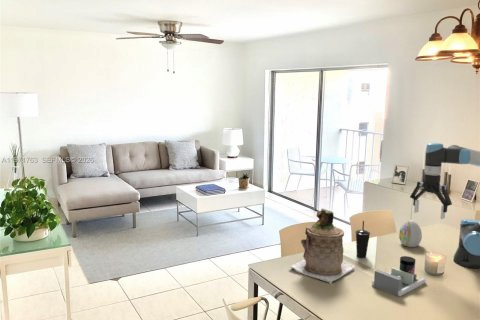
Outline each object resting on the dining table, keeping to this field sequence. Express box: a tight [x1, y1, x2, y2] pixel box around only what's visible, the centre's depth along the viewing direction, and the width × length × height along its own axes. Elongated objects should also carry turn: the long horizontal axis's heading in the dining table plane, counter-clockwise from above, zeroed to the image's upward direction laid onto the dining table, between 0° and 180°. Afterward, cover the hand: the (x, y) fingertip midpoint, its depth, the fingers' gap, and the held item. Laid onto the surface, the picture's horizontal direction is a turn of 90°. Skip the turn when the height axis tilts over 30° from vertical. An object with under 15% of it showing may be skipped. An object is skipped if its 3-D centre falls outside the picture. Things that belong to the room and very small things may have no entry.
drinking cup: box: [355, 220, 371, 259], centre depth 221 cm, size 8×8×20 cm
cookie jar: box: [289, 208, 356, 285], centre depth 202 cm, size 25×25×32 cm
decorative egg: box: [398, 219, 423, 248], centre depth 239 cm, size 12×12×15 cm
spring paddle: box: [390, 267, 414, 285], centre depth 189 cm, size 5×10×5 cm, turn 39°
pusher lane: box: [371, 269, 427, 298], centre depth 189 cm, size 22×14×7 cm, turn 129°
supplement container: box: [398, 255, 416, 281], centre depth 192 cm, size 7×7×10 cm
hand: (429, 215), depth 207 cm, fingers open, 13 cm apart
